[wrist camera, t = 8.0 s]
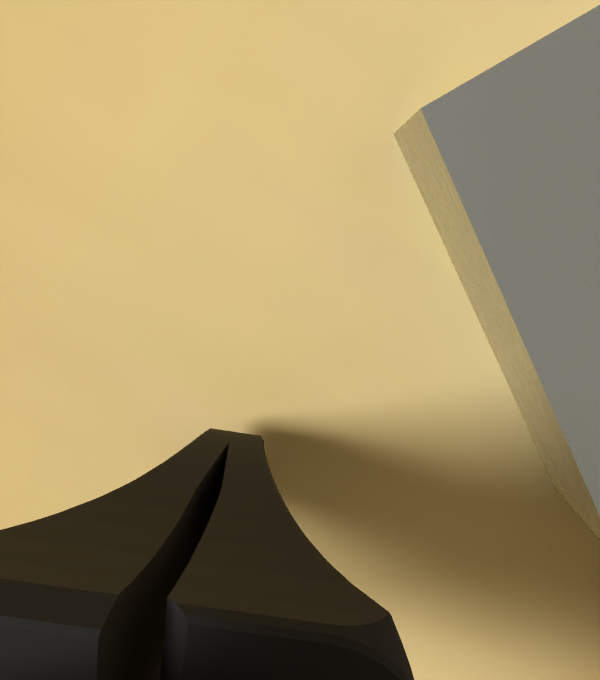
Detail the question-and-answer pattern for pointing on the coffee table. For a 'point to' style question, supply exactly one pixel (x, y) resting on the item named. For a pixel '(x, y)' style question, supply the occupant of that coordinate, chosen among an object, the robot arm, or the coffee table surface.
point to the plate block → (529, 233)
